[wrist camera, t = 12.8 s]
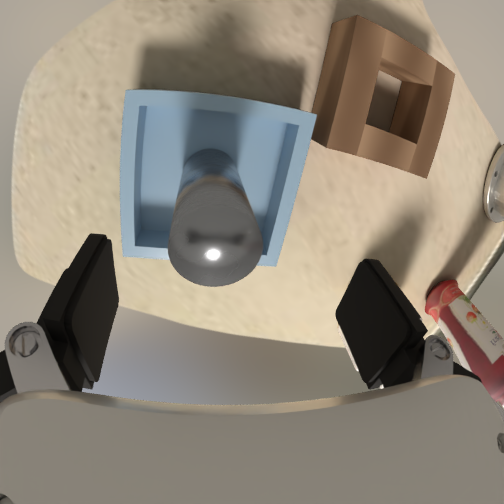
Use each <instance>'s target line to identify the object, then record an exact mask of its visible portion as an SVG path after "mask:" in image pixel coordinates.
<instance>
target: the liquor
mask: <svg viewBox="0 0 504 504" xmlns="http://www.w3.org/2000/svg"><path fill="white" fill-rule="evenodd" d="M425 312H426V313H427V314H429V315H432V317H433V318H434V320H435V321H436V323H437V324H438V326H439V327H440V329H441V330H442V332H443V333H444V335H445V336H446V338H447V340H448V341H449V343H450V344H451V346H452V348H453V350H454V351H455V353H456V355H457V357H458V358H459V360H460V362H461V364H462V366H463V367H464V368H465V369H467V370H469V371H470V372H472V373H474V374H475V375H477V376H479V378H480V379H481V381H482V384H483V385H484V387H485V388H486V390H487V391H488V393H489V394H490V396H491V397H492V398H493V399H494V400H495V401H496V402H497V401H499V402H500V403H501V405H502V406H503V408H504V340H503V338H502V337H501V336H500V335H499V333H498V332H497V331H496V330H495V329H494V327H493V326H492V325H491V324H490V323H489V322H488V321H487V320H486V318H485V317H484V316H483V315H482V314H481V313H480V311H479V310H478V309H477V308H476V307H475V306H474V305H473V303H472V302H471V301H470V300H469V299H468V298H467V297H466V296H465V294H464V293H463V292H462V291H461V290H460V289H459V288H458V283H457V281H456V280H447V281H442V282H440V283H438V284H437V285H436V286H434V287H433V289H432V290H431V291H430V293H429V294H428V297H427V301H426V306H425Z"/></svg>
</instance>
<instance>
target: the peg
mask: <svg viewBox="0 0 504 504" xmlns="http://www.w3.org/2000/svg"><path fill="white" fill-rule="evenodd" d="M262 251H263V238H262V235H261V232H260V229H259V226H258V224H257V221H256V218H255V216H254V213H253V210H252V208H251V205H250V202H249V200H248V197H247V194H246V192H245V189H244V186H243V184H242V181H241V178H240V176H239V173H238V171H237V168H236V165H235V163H234V161H233V160H232V158H231V157H230V156H229V155H228V154H226V153H225V152H223V151H221V150H218V149H211V148H209V149H203V150H200V151H198V152H196V153H194V154H193V155H192V156H190V157H189V159H188V160H187V161H186V163H185V165H184V168H183V172H182V176H181V180H180V185H179V189H178V194H177V198H176V203H175V208H174V213H173V218H172V223H171V228H170V234H169V239H168V255H169V259H170V261H171V263H172V265H173V267H174V268H175V270H176V271H177V272H178V273H179V274H180V275H181V276H183V277H184V278H185V279H187V280H189V281H191V282H193V283H195V284H199V285H203V286H210V287H217V286H225V285H229V284H232V283H235V282H237V281H239V280H241V279H243V278H244V277H246V276H247V275H248V274H249V273H250V272H252V270H253V269H254V268H255V267H256V265H257V264H258V262H259V260H260V258H261V255H262Z"/></svg>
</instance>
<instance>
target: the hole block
mask: <svg viewBox="0 0 504 504" xmlns="http://www.w3.org/2000/svg"><path fill="white" fill-rule="evenodd" d="M379 70H381V71H383V72H385V73H387V74H389V75H391V76H393V77H395V78H397V79H399V80H401V81H402V84H401V88H400V92H399V96H398V100H397V104H396V108H395V112H394V116H393V120H392V123H391V127H390V130H389V132H386V131H384V130H381V129H378V128H376V127H373V126H370V125H367V124H365V123H366V120H367V116H368V112H369V108H370V104H371V100H372V96H373V92H374V88H375V84H376V80H377V75H378V71H379ZM454 77H455V74H454V73H453V72H452V71H451V70H449V69H448V68H447V67H445V66H444V65H443V64H441V63H440V62H438V61H437V60H436V59H434V58H433V57H431V56H430V55H428V54H427V53H425V52H424V51H422V50H421V49H419V48H418V47H416V46H415V45H413V44H411V43H410V42H408V41H406V40H405V39H403V38H401V37H400V36H398V35H396V34H394V33H392V32H391V31H389V30H387V29H385V28H383V27H381V26H379V25H377V24H375V23H373V22H371V21H369V20H367V19H365V18H363V17H361V16H359V15H356V16H353V17H350V18H347V19H344V20H341V21H338V22H335V23H332V26H331V31H330V36H329V40H328V45H327V49H326V54H325V58H324V63H323V67H322V71H321V76H320V80H319V84H318V89H317V93H316V97H315V101H314V106H313V110H312V113H313V114H316V115H317V117H316V121H315V125H314V129H313V133H312V137H311V139H312V140H314V141H316V142H317V143H319V144H321V145H323V146H324V147H326V148H329V149H333V150H337V151H341V152H345V153H349V154H352V155H356V156H359V157H363V158H366V159H370V160H373V161H376V162H380V163H383V164H386V165H389V166H392V167H395V168H398V169H401V170H404V171H407V172H410V173H412V174H415V175H418V176H421V177H423V178H426V179H427V176H428V173H429V171H430V168H431V165H432V162H433V159H434V156H435V152H436V149H437V146H438V143H439V139H440V136H441V132H442V129H443V125H444V121H445V118H446V114H447V110H448V105H449V101H450V97H451V92H452V87H453V82H454Z"/></svg>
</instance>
